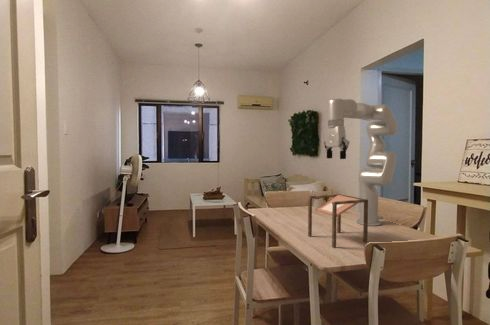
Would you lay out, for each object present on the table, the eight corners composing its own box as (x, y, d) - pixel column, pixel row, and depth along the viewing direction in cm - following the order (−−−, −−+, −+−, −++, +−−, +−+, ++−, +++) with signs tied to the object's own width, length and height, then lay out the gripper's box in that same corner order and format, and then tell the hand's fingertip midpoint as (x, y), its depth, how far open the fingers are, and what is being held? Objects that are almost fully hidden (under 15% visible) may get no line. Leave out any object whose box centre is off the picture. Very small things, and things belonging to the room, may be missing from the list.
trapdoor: (339, 196, 147) (338, 194, 147) (361, 201, 133) (361, 198, 133) (315, 210, 142) (314, 208, 142) (336, 217, 128) (335, 214, 128)
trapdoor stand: (338, 232, 150) (339, 194, 149) (367, 242, 133) (368, 199, 132) (308, 236, 143) (308, 196, 142) (333, 247, 126) (334, 202, 125)
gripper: (318, 125, 152) (318, 158, 153) (342, 122, 137) (342, 159, 138) (330, 125, 156) (330, 157, 156) (354, 122, 140) (354, 158, 141)
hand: (336, 158), depth 147 cm, fingers open, 9 cm apart
